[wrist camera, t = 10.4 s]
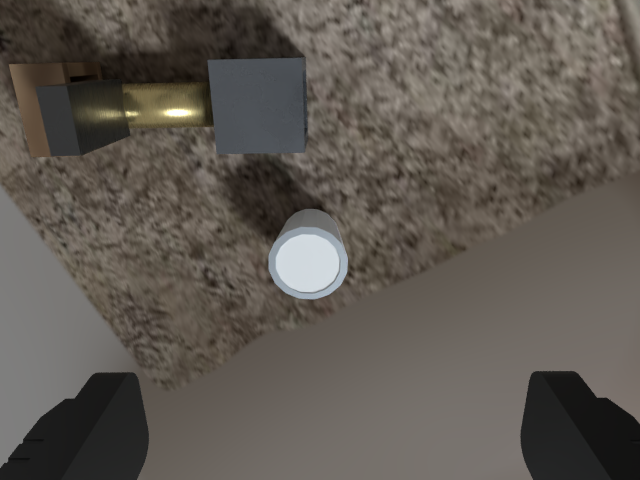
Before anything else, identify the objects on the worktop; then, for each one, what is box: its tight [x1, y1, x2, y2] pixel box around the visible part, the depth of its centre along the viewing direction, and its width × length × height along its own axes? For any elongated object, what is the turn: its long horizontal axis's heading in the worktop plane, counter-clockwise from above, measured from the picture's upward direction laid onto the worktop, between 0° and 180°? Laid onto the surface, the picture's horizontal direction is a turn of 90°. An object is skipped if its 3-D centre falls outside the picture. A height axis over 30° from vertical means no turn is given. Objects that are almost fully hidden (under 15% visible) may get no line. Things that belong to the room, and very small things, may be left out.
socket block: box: [9, 62, 114, 157], centre depth 40 cm, size 4×7×6 cm, turn 1°
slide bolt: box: [35, 79, 214, 156], centre depth 36 cm, size 13×4×12 cm, turn 91°
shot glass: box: [269, 209, 348, 299], centre depth 44 cm, size 7×7×7 cm
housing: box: [207, 57, 308, 154], centre depth 39 cm, size 7×7×6 cm
